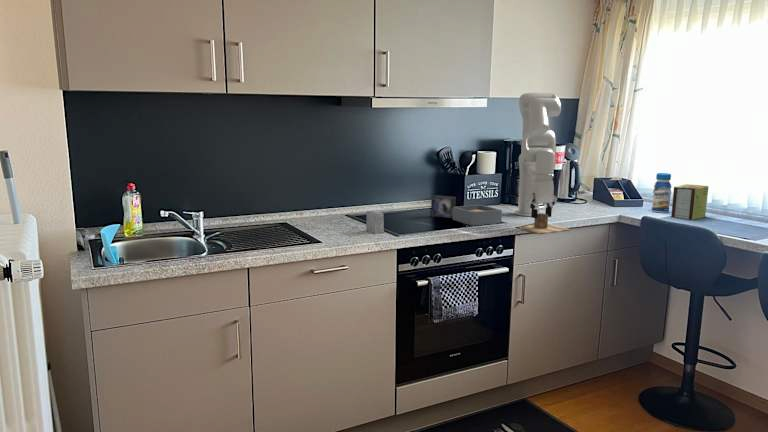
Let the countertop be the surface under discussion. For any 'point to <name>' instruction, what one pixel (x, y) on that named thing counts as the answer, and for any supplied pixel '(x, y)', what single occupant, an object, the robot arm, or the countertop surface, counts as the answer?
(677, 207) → the protein box
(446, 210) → the small box
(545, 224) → the oak lid
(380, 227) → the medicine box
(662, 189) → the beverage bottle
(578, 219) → the countertop surface
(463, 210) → the slate bin
